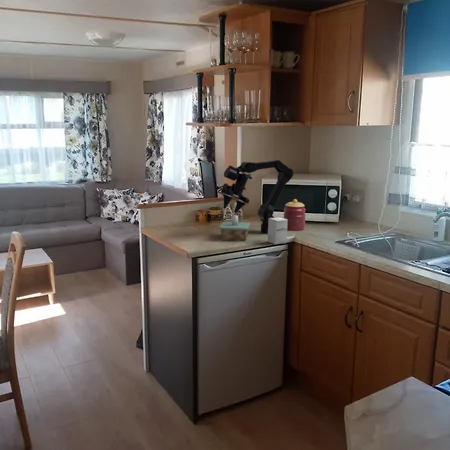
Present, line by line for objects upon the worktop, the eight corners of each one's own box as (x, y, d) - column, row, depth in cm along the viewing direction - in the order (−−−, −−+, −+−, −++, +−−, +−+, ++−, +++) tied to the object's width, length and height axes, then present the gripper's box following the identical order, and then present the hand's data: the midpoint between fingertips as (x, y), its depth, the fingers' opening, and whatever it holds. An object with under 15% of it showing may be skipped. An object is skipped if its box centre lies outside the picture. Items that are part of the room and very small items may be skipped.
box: (247, 235, 262) (247, 224, 261) (245, 241, 250) (245, 229, 249) (224, 234, 264) (224, 223, 263) (221, 239, 251) (221, 228, 250)
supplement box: (275, 244, 243) (275, 220, 241) (267, 241, 250) (268, 217, 247) (287, 243, 247) (288, 219, 244) (279, 240, 253) (279, 216, 250)
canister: (305, 226, 287) (306, 197, 283) (304, 231, 275) (306, 201, 271) (283, 225, 289) (284, 197, 286) (282, 230, 277) (283, 200, 273)
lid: (249, 224, 262) (250, 213, 261) (247, 230, 247) (247, 219, 246) (222, 223, 264) (223, 212, 263) (219, 229, 249) (219, 218, 248)
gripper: (240, 185, 269) (229, 210, 270) (219, 175, 255) (208, 202, 256) (254, 190, 262) (243, 216, 262) (233, 180, 248) (222, 207, 248)
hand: (229, 210), depth 257 cm, fingers open, 9 cm apart
